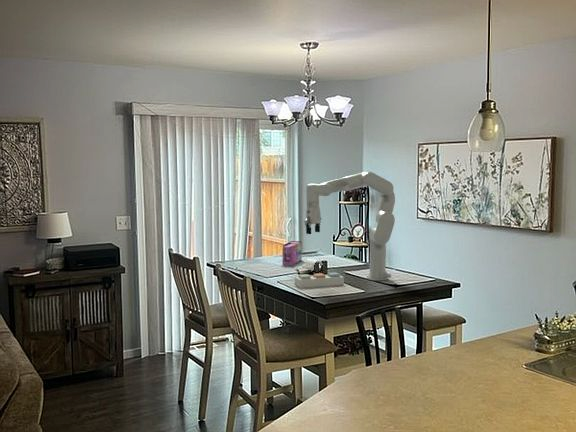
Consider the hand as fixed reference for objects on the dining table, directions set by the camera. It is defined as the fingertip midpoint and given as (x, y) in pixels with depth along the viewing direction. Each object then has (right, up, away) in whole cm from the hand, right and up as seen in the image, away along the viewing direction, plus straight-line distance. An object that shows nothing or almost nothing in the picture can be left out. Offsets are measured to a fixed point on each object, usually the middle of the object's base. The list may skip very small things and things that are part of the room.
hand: (313, 232), depth 338 cm
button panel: (+3, -30, -9) cm, 32 cm away
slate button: (+12, -27, -7) cm, 30 cm away
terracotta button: (+3, -27, -10) cm, 29 cm away
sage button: (-5, -27, -12) cm, 30 cm away
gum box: (-12, -23, +63) cm, 68 cm away
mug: (0, -26, +27) cm, 38 cm away
